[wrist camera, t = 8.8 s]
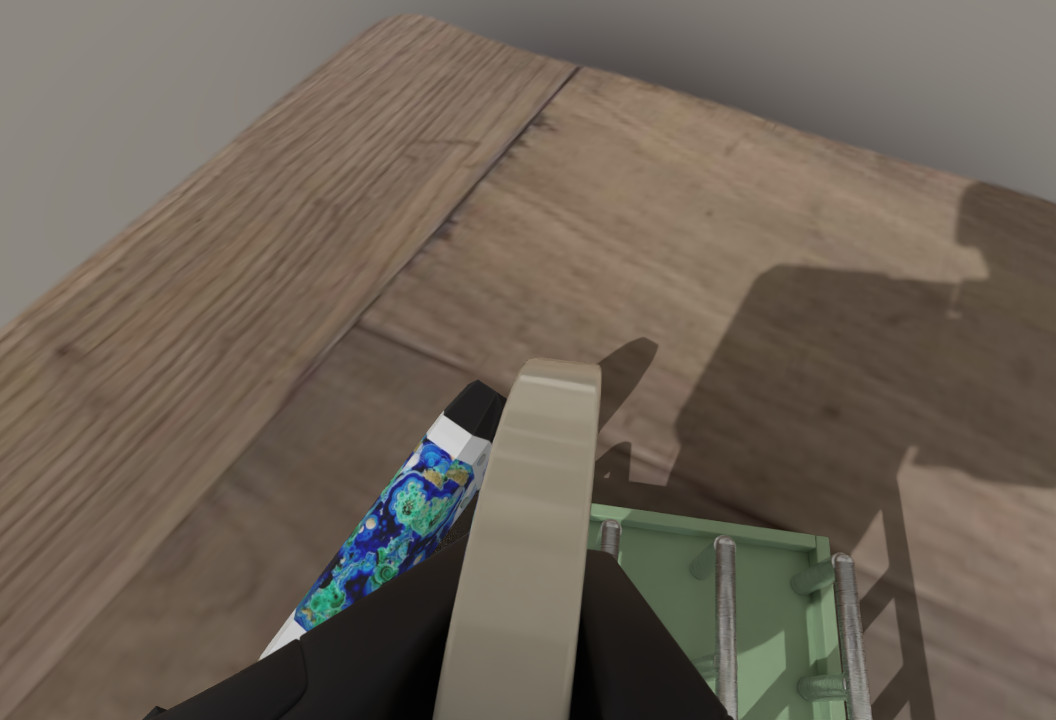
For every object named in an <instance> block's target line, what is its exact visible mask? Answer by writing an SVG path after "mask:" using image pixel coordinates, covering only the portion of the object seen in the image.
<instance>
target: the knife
mask: <svg viewBox="0 0 1056 720" xmlns="http://www.w3.org/2000/svg"><path fill="white" fill-rule="evenodd" d="M506 400H507V399H506V398H505V397H503V396H502V395H500V394H499V393H498V392H496V391H494V390H493V389H491V388H490V387H488V386H487V385H485V384H484V383H482V382H481V381H479V380H476V381H474V382H472V383H470V384H468V385H467V386H466V387H465V388H464V390H463V391H462V392H461V393H460V394H459V395H458V396H457V397H456V398H455V399H454V400H453V401H452V402H451V403H450V404H449V405H448V406H447V407H446V409H445V410H444V411H443V412H442V413H441V415H440V416H439V417H438V419H437V420H436V421H435V423H434V424H433V425H432V426H431V428H430V429H429V430H428V432H427V433H426V434H425V436H424V437H423V439H422V440H421V441H420V443H419V444H418V445H417V447H416V448H415V449H414V451H413V452H412V453H411V455H410V456H409V457H408V459H407V460H406V461H405V463H404V464H403V465H402V467H401V468H400V469H399V471H398V472H397V473H396V475H395V476H394V477H393V479H392V480H391V481H390V483H389V484H388V485H387V487H386V488H385V489H384V491H383V492H382V493H381V495H380V496H379V497H378V499H377V500H376V501H375V503H374V504H373V505H372V507H371V508H370V510H369V511H368V512H367V514H366V515H365V516H364V518H363V519H362V520H361V522H360V523H359V524H358V526H357V527H356V528H355V530H354V531H353V532H352V534H351V535H350V536H349V538H348V539H347V540H346V542H345V543H344V544H343V546H342V547H341V548H340V550H339V551H338V552H337V554H336V555H335V556H334V558H333V559H332V560H331V562H330V563H329V564H328V566H327V567H326V568H325V570H324V571H323V572H322V574H321V575H320V577H319V578H318V579H317V581H316V582H315V583H314V585H313V586H312V587H311V589H310V590H309V591H308V593H307V594H306V595H305V597H304V598H303V599H302V601H301V602H300V603H299V605H298V606H297V607H296V609H295V610H294V611H293V613H292V614H291V615H290V617H289V618H288V619H287V621H286V622H285V624H284V625H283V626H282V628H281V629H280V630H279V632H278V633H277V634H276V636H275V637H274V638H273V640H272V641H271V642H270V644H269V645H268V646H267V648H266V649H265V650H264V652H263V653H262V655H261V656H260V657H259V659H258V660H257V661H259V660H261V659H263V658H264V657H266V656H268V655H270V654H271V653H273V652H274V651H276V650H278V649H279V648H281V647H283V646H284V645H286V644H288V643H289V642H291V641H292V640H294V639H298V640H299V638H300V636H301V635H303V634H304V633H306V632H308V631H309V630H311V629H312V628H314V627H316V626H317V625H319V624H321V623H322V622H324V621H326V620H327V619H329V618H330V617H332V616H334V615H335V614H337V613H339V612H340V611H342V610H343V609H345V608H347V607H348V606H350V605H352V604H353V603H355V602H357V601H358V600H360V599H361V598H363V597H365V596H366V595H368V594H370V593H371V592H373V591H375V590H376V589H378V588H379V587H381V586H383V585H384V584H386V583H388V582H389V581H391V580H392V579H394V578H396V577H397V576H399V575H401V574H402V573H404V572H406V571H407V570H409V569H410V568H412V567H414V566H415V565H417V564H419V563H420V562H422V561H424V560H425V559H427V558H428V557H430V555H431V554H432V553H433V551H434V550H435V548H436V547H437V546H438V544H439V543H440V542H441V540H442V539H443V538H444V536H445V535H446V533H447V532H448V531H449V529H450V528H451V527H452V525H453V524H454V522H455V521H456V520H457V518H458V517H459V516H460V514H461V513H462V512H463V510H464V509H465V507H466V506H467V505H468V503H469V502H470V501H471V499H472V498H473V496H474V495H475V494H476V492H477V491H478V490H479V488H480V487H481V484H482V480H483V476H484V472H485V469H486V465H487V461H488V458H489V454H490V450H491V447H492V443H493V440H494V437H495V434H496V430H497V427H498V424H499V421H500V418H501V414H502V411H503V408H504V406H505V403H506ZM257 661H256V662H257ZM165 711H167V710H166V709H163V708H160V707H158V706H156V707H155V708H154V709H153V710H152V711H151V712H150V713H149V714H148V715H147V716H146V717H145V718H144V719H143V720H149V719H151V718H153V717H155V716H157V715H159V714H161V713H163V712H165Z"/></svg>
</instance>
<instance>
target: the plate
mask: <svg viewBox="0 0 1056 720" xmlns="http://www.w3.org/2000/svg"><path fill="white" fill-rule="evenodd" d="M601 386H602V370H601V366H599V365H597V364H592V363H583V362H574V361H566V360H557V359H549V358H540V357H533V358H530V359H528V360H526V362H525V363H524V364H523V366H522V367H521V369H520V370H519V372H518V374H517V377H516V379H515V381H514V383H513V385H512V387H511V390H510V392H509V395H508V398H507V400H506V403H505V406H504V408H503V411H502V414H501V418H500V421H499V424H498V427H497V430H496V434H495V437H494V440H493V443H492V447H491V450H490V454H489V458H488V461H487V465H486V469H485V472H484V476H483V480H482V484H481V487H480V491H479V495H478V499H477V504H476V508H475V512H474V516H473V520H472V524H471V528H470V533H469V537H468V541H467V545H466V550H465V554H464V559H463V563H462V568H461V573H460V577H459V582H458V586H457V591H456V596H455V600H454V605H453V610H452V614H451V619H450V625H449V630H448V635H447V640H446V645H445V650H444V655H443V660H442V665H441V671H440V676H439V681H438V686H437V691H436V697H435V703H434V708H433V714H432V720H569V717H570V708H571V698H572V689H573V680H574V670H575V661H576V651H577V642H578V632H579V622H580V612H581V603H582V593H583V583H584V573H585V564H586V553H587V543H588V533H589V523H590V513H591V503H592V492H593V481H594V471H595V460H596V449H597V437H598V426H599V414H600V401H601Z"/></svg>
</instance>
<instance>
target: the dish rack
mask: <svg viewBox="0 0 1056 720" xmlns="http://www.w3.org/2000/svg"><path fill="white" fill-rule="evenodd" d="M587 549H592V550H598V551H605V552H609V553H611V554H612V555H613V557H614V558H615V559H616V561H617V562H618V563H619V565H620V566H621V567H622V569H623V570H624V572H625V573H626V574H627V576H628V577H629V578H630V580H631V581H632V582H633V584H634V585H635V586H636V588H637V589H638V590H639V592H640V593H641V595H642V596H643V597H644V599H645V600H646V601H647V603H648V604H649V605H650V607H651V608H652V609H653V611H654V612H655V613H656V615H657V616H658V618H659V619H660V620H661V622H662V623H663V624H664V626H665V627H666V628H667V630H668V631H669V632H670V634H671V635H672V636H673V638H674V639H675V641H676V642H677V643H678V645H679V646H680V647H681V649H682V650H683V651H684V653H685V654H686V655H687V657H688V658H689V659H690V661H691V662H692V664H693V665H694V666H695V668H696V669H697V670H698V672H699V673H700V674H701V676H702V677H703V678H704V680H705V681H706V682H707V684H708V685H709V687H710V688H711V689H712V691H713V692H714V693H715V695H716V696H717V697H718V699H719V700H720V701H721V703H722V704H723V705H724V707H725V708H726V710H727V711H728V715H730V716H732V717H733V719H734V720H846V715H845V705H844V701H846V703H847V713H848V720H873V719H872V710H871V701H870V693H869V684H868V675H867V666H866V658H865V649H864V640H863V631H862V622H861V614H860V605H859V596H858V587H857V579H856V570H855V563H854V560H853V559H852V558H851V557H850V556H849V555H847V554H845V553H840V552H839V553H835V554H833V555H832V556H830V546H829V538H828V537H824V536H817V535H816V536H815V535H810V534H803V533H796V532H789V531H782V530H776V529H769V528H762V527H755V526H748V525H741V524H734V523H727V522H720V521H713V520H706V519H699V518H692V517H686V516H679V515H672V514H665V513H658V512H651V511H644V510H637V509H630V508H623V507H616V506H609V505H603V504H596V503H591V513H590V523H589V533H588V543H587ZM834 582H835V588H836V599H837V609H838V620H839V630H840V640H841V651H842V661H843V673H841V663H840V652H839V641H838V631H837V620H836V610H835V599H834V589H833V583H834Z"/></svg>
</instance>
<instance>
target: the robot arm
mask: <svg viewBox="0 0 1056 720" xmlns="http://www.w3.org/2000/svg"><path fill="white" fill-rule="evenodd" d="M468 537H469V533H468V534H466V535H464V536H463V537H461V538H459V539H458V540H456V541H455V542H453V543H451V544H450V545H448V546H446V547H445V548H443V549H441V550H440V551H438V552H437V553H435V554H433V555H432V556H430V557H428V558H427V559H425V560H424V561H422V562H420V563H419V564H417V565H415V566H414V567H412V568H410V569H409V570H407V571H406V572H404V573H402V574H401V575H399V576H397V577H396V578H394V579H392V580H391V581H389V582H388V583H386V584H384V585H383V586H381V587H379V588H378V589H376V590H375V591H373V592H371V593H370V594H368V595H366V596H365V597H363V598H361V599H360V600H358V601H357V602H355V603H353V604H352V605H350V606H348V607H347V608H345V609H343V610H342V611H340V612H339V613H337V614H335V615H334V616H332V617H330V618H329V619H327V620H326V621H324V622H322V623H321V624H319V625H317V626H316V627H314V628H312V629H311V630H309V631H308V632H306V633H304V634H303V635H301V636H300V638H299V640H298V639H294V640H292V641H291V642H289V643H288V644H286V645H284V646H283V647H281V648H279V649H278V650H276V651H274V652H273V653H271V654H270V655H268V656H266V657H264V658H263V659H261V660H259V661H257V662H256V663H254V664H252V665H251V666H249V667H247V668H245V669H244V670H242V671H240V672H239V673H237V674H235V675H233V676H232V677H230V678H228V679H226V680H224V681H222V682H220V683H219V684H217V685H215V686H213V687H211V688H209V689H207V690H205V691H203V692H201V693H200V694H198V695H196V696H194V697H192V698H190V699H188V700H186V701H184V702H183V703H181V704H179V705H177V706H175V707H173V708H171V709H169V710H167V711H165V712H163V713H161V714H159V715H157V716H155V717H153V718H151V719H149V720H432V714H433V708H434V703H435V697H436V691H437V686H438V681H439V676H440V671H441V665H442V660H443V655H444V650H445V645H446V640H447V635H448V630H449V625H450V619H451V614H452V610H453V605H454V600H455V596H456V591H457V586H458V582H459V577H460V573H461V568H462V563H463V559H464V554H465V550H466V545H467V541H468ZM569 720H734V719H733V717H732V716H730V715H728V711H727V710H726V708H725V707H724V705H723V704H722V703H721V701H720V700H719V699H718V697H717V696H716V695H715V693H714V692H713V691H712V689H711V688H710V687H709V685H708V684H707V682H706V681H705V680H704V678H703V677H702V676H701V674H700V673H699V672H698V670H697V669H696V668H695V666H694V665H693V664H692V662H691V661H690V659H689V658H688V657H687V655H686V654H685V653H684V651H683V650H682V649H681V647H680V646H679V645H678V643H677V642H676V641H675V639H674V638H673V636H672V635H671V634H670V632H669V631H668V630H667V628H666V627H665V626H664V624H663V623H662V622H661V620H660V619H659V618H658V616H657V615H656V613H655V612H654V611H653V609H652V608H651V607H650V605H649V604H648V603H647V601H646V600H645V599H644V597H643V596H642V595H641V593H640V592H639V590H638V589H637V588H636V586H635V585H634V584H633V582H632V581H631V580H630V578H629V577H628V576H627V574H626V573H625V572H624V570H623V569H622V567H621V566H620V565H619V563H618V562H617V561H616V559H615V558H614V557H613V555H612V554H611V553H609V552H605V551H598V550H592V549H587V553H586V564H585V573H584V583H583V593H582V603H581V612H580V622H579V632H578V642H577V651H576V661H575V670H574V680H573V689H572V698H571V708H570V717H569Z"/></svg>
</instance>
